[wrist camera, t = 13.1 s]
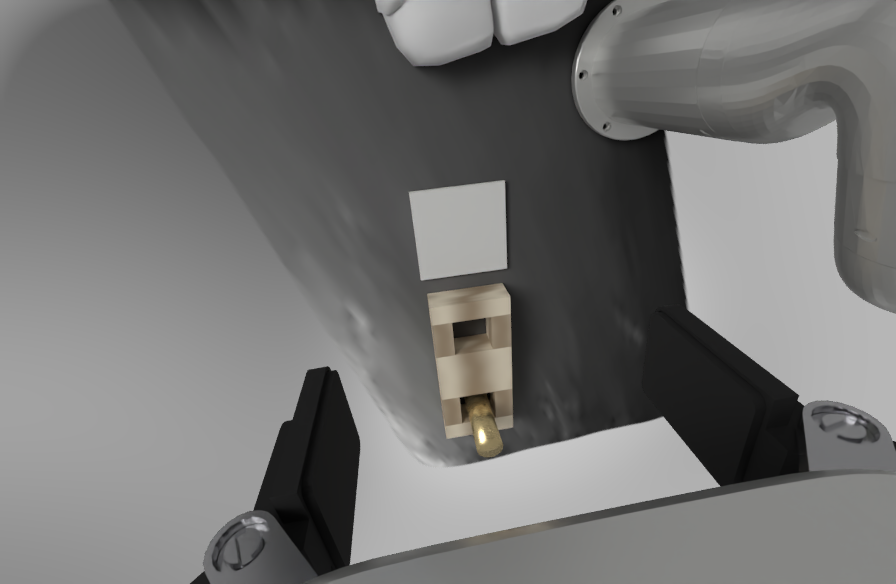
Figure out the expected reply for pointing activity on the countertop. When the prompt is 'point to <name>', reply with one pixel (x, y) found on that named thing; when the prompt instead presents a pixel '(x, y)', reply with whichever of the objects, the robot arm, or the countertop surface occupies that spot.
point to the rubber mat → (460, 229)
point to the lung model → (469, 25)
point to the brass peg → (483, 425)
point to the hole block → (473, 354)
